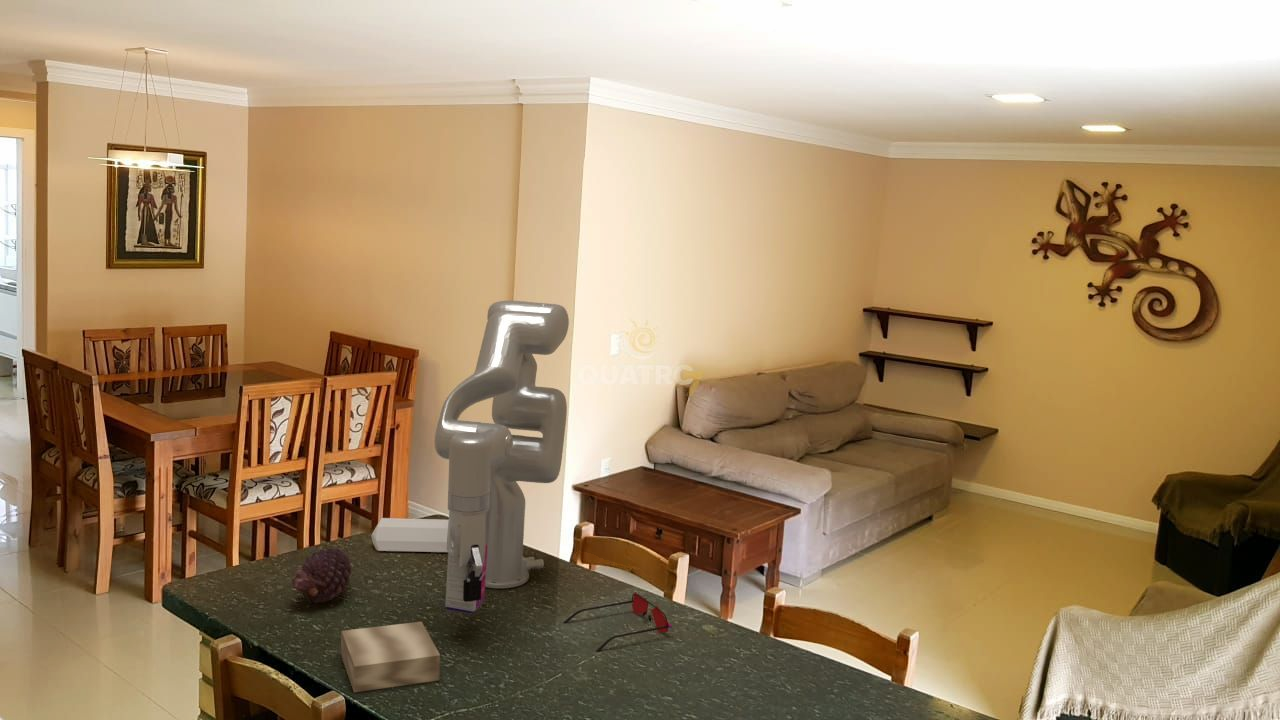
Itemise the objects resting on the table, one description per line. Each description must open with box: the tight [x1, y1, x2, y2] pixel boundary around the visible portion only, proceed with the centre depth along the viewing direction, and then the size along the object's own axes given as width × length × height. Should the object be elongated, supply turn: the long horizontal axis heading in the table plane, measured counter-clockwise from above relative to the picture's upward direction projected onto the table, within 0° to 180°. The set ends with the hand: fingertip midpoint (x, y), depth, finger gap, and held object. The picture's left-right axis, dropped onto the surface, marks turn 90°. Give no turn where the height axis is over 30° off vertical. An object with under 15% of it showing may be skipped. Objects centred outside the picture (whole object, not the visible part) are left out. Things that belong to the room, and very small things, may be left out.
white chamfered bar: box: [370, 517, 449, 553], centre depth 229 cm, size 7×7×24 cm
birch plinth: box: [340, 621, 441, 693], centre depth 171 cm, size 14×14×4 cm
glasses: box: [562, 592, 673, 653], centre depth 192 cm, size 14×16×5 cm
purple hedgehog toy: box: [291, 547, 352, 604], centre depth 197 cm, size 18×10×10 cm, turn 169°
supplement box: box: [444, 545, 488, 615], centre depth 184 cm, size 6×6×12 cm
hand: (465, 590), depth 184 cm, fingers closed on supplement box, 7 cm apart
